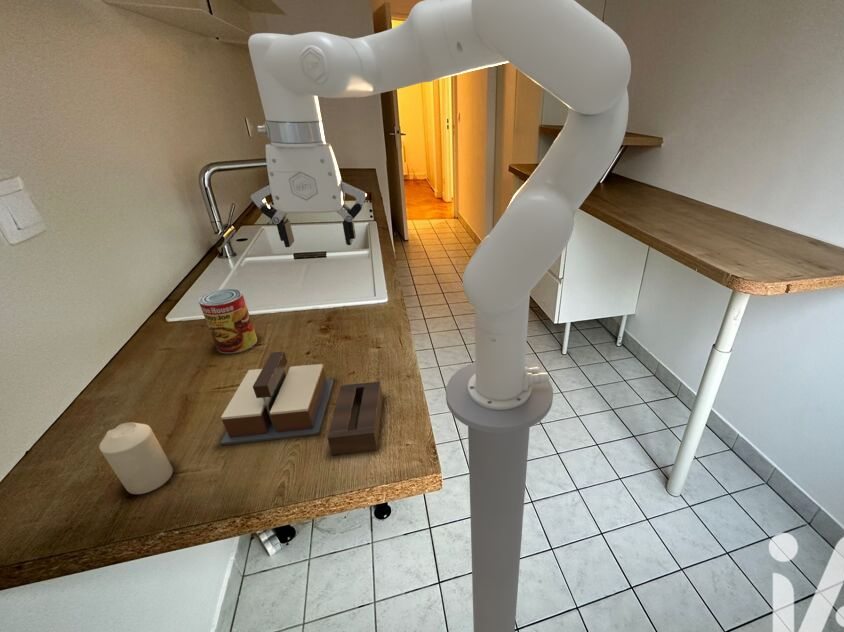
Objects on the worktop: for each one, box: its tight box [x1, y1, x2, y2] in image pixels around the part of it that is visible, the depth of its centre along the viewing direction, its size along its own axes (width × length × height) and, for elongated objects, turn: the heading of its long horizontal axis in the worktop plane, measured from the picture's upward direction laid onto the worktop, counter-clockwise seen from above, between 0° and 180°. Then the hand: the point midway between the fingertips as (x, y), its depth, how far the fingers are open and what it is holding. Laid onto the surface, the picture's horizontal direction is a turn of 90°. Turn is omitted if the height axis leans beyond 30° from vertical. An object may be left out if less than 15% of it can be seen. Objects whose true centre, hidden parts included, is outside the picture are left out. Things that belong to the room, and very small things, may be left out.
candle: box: [98, 421, 174, 495], centre depth 59 cm, size 6×6×10 cm
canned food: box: [198, 288, 258, 354], centre depth 90 cm, size 8×8×12 cm
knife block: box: [327, 381, 384, 456], centre depth 72 cm, size 13×7×4 cm, turn 11°
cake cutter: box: [253, 351, 288, 427], centre depth 73 cm, size 10×2×9 cm, turn 11°
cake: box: [220, 363, 335, 446], centre depth 74 cm, size 15×15×5 cm
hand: (320, 243), depth 70 cm, fingers open, 9 cm apart
